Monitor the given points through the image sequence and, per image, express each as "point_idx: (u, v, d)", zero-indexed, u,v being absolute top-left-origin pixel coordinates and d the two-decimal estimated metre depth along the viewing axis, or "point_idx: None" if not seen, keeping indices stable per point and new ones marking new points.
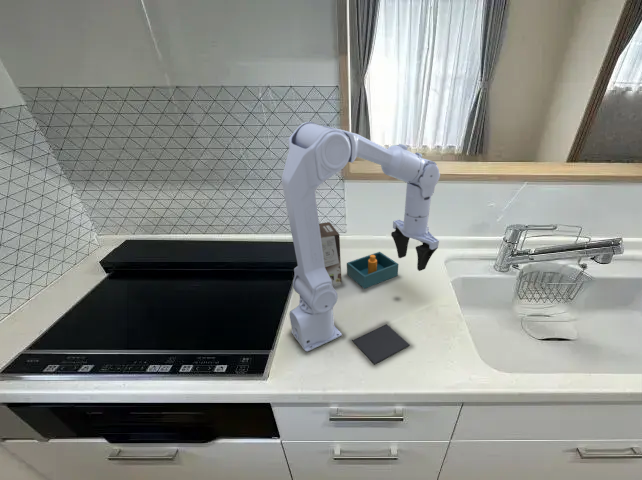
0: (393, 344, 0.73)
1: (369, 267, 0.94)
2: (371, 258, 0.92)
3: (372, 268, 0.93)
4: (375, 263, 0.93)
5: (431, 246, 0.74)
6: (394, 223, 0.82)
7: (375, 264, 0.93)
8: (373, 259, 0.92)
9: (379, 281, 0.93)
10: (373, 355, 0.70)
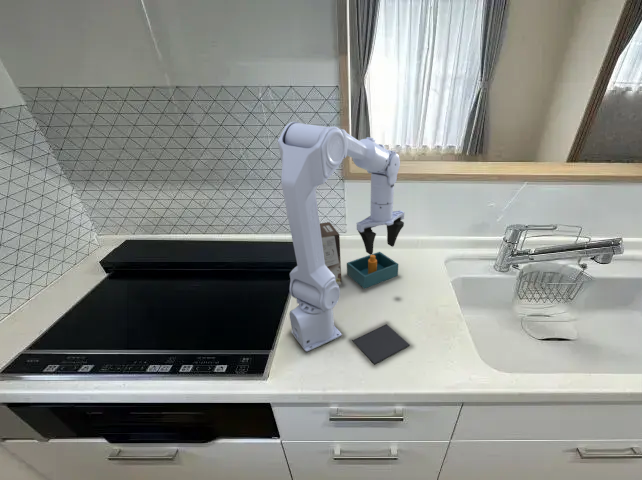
0: (393, 344, 0.73)
1: (369, 267, 0.94)
2: (371, 258, 0.92)
3: (372, 268, 0.93)
4: (375, 263, 0.93)
5: None
6: None
7: (375, 264, 0.93)
8: (373, 259, 0.92)
9: (379, 281, 0.93)
10: (373, 355, 0.70)
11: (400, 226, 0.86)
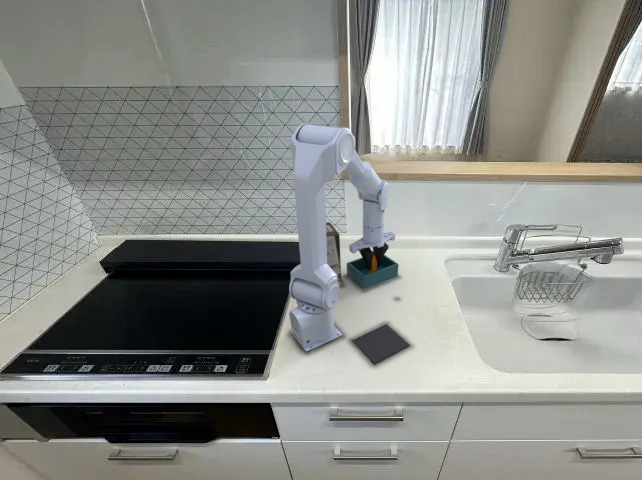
0: (393, 344, 0.73)
1: None
2: None
3: (372, 268, 0.93)
4: (375, 263, 0.93)
5: None
6: None
7: (375, 264, 0.93)
8: (373, 259, 0.92)
9: (379, 281, 0.93)
10: (373, 355, 0.70)
11: (385, 249, 0.90)
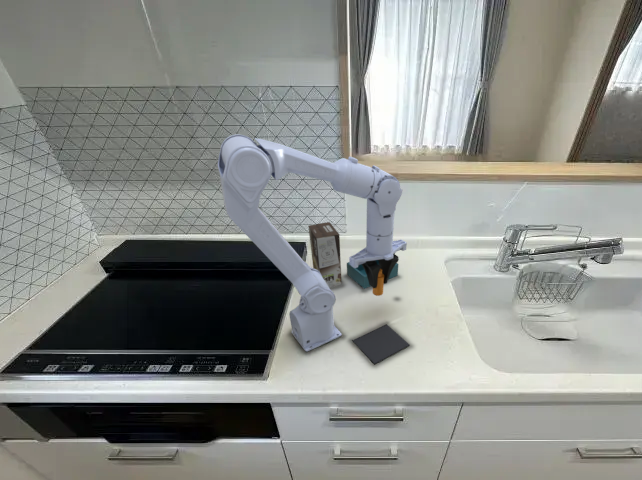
0: (393, 344, 0.73)
1: None
2: None
3: (377, 285, 0.75)
4: (382, 279, 0.74)
5: None
6: None
7: (382, 280, 0.74)
8: (379, 274, 0.74)
9: None
10: (373, 355, 0.70)
11: (394, 262, 0.72)
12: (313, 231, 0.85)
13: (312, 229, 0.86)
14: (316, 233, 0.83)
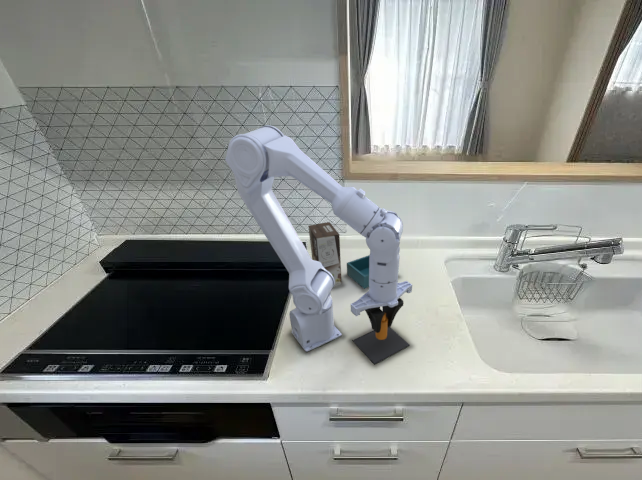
0: (393, 344, 0.73)
1: None
2: None
3: (381, 329, 0.70)
4: (385, 323, 0.69)
5: None
6: None
7: (385, 324, 0.69)
8: (383, 318, 0.69)
9: None
10: (373, 355, 0.70)
11: (398, 307, 0.67)
12: (313, 231, 0.85)
13: (312, 229, 0.86)
14: (316, 233, 0.83)
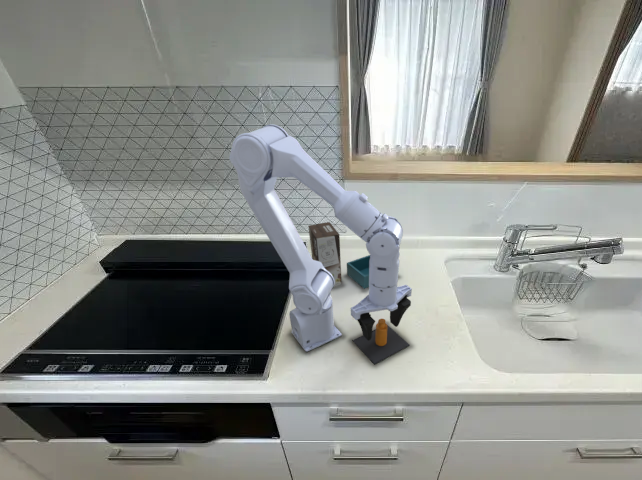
0: (393, 344, 0.73)
1: (377, 334, 0.71)
2: (380, 324, 0.70)
3: (381, 336, 0.71)
4: (385, 330, 0.70)
5: None
6: None
7: (385, 331, 0.71)
8: (382, 325, 0.70)
9: None
10: (373, 355, 0.70)
11: (406, 307, 0.68)
12: (313, 231, 0.85)
13: (312, 229, 0.86)
14: (316, 233, 0.83)
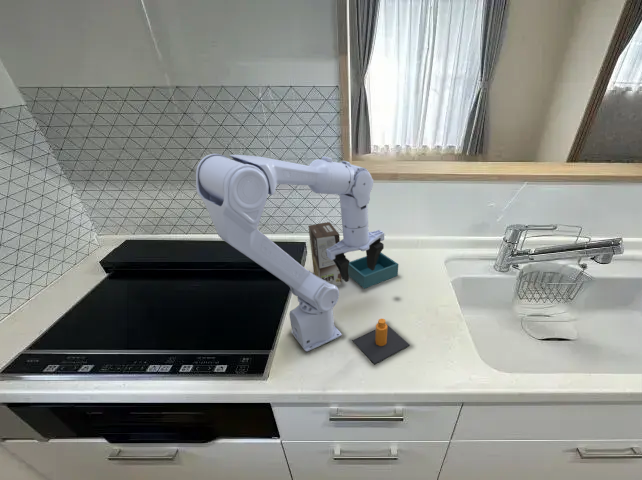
0: (393, 344, 0.73)
1: (377, 334, 0.71)
2: (380, 324, 0.70)
3: (381, 336, 0.71)
4: (385, 330, 0.70)
5: None
6: None
7: (385, 331, 0.71)
8: (382, 325, 0.70)
9: (379, 281, 0.93)
10: (373, 355, 0.70)
11: (379, 249, 0.74)
12: (313, 231, 0.85)
13: (312, 229, 0.86)
14: (316, 233, 0.83)
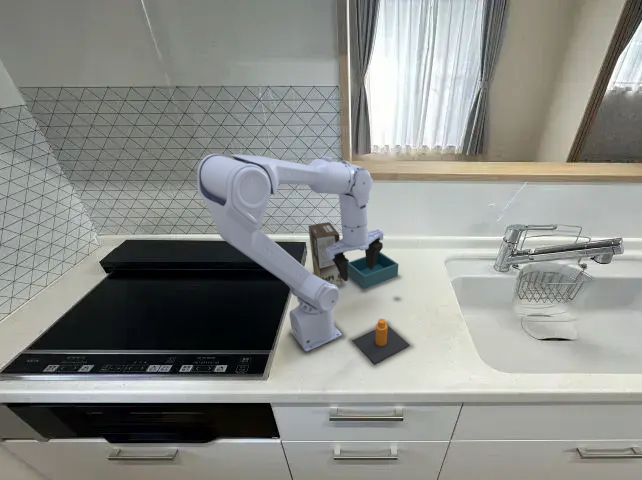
0: (393, 344, 0.73)
1: (377, 334, 0.71)
2: (380, 324, 0.70)
3: (381, 336, 0.71)
4: (385, 330, 0.70)
5: None
6: None
7: (385, 331, 0.71)
8: (382, 325, 0.70)
9: (379, 281, 0.93)
10: (373, 355, 0.70)
11: (378, 248, 0.75)
12: (313, 231, 0.85)
13: (312, 229, 0.86)
14: (316, 233, 0.83)
